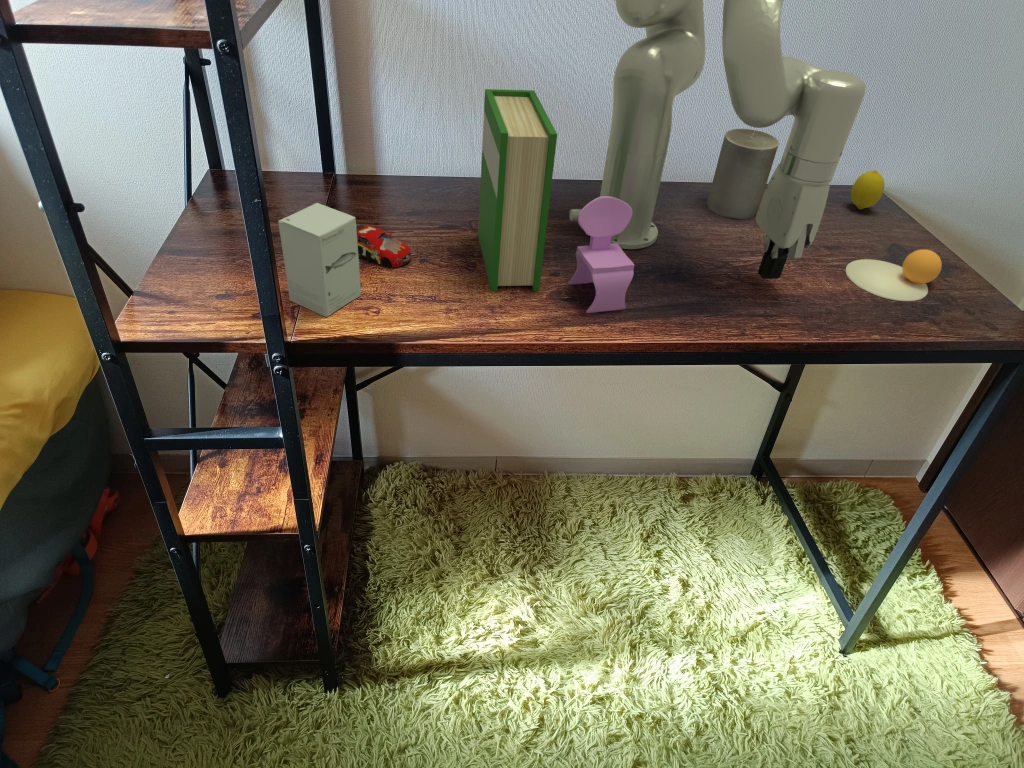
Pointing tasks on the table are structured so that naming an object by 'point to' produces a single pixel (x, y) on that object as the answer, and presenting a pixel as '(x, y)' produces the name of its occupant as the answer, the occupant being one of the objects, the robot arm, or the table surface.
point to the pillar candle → (742, 173)
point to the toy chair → (604, 253)
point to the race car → (381, 247)
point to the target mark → (884, 280)
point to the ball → (922, 266)
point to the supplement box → (321, 258)
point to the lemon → (867, 189)
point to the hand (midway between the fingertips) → (768, 275)
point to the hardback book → (515, 186)
